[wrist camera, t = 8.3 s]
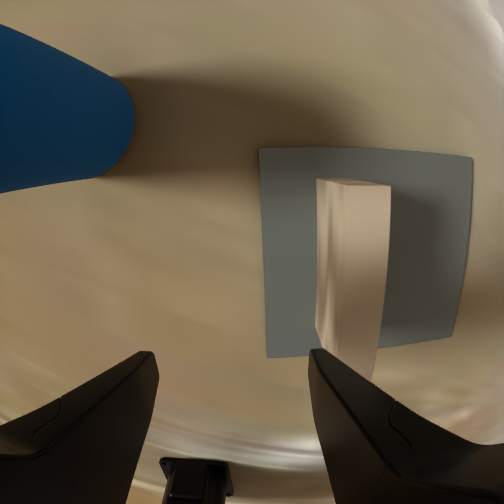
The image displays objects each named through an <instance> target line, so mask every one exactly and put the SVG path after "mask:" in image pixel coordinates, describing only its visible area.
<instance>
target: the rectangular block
mask: <svg viewBox="0 0 504 504" xmlns="http://www.w3.org/2000/svg"><path fill="white" fill-rule="evenodd" d="M316 187H317V287H316V318H315V327H316V330H317V333H318V336H319V339H320V342H321V345H322V348H324V349H326V350H327V351H328V352H330V353H331V354H332V355H334V356H335V357H337V358H338V359H339V360H341V361H342V362H343V363H345V364H346V365H348V366H349V367H350V368H352V369H353V370H354V371H356V372H357V373H359V374H360V375H361V376H363V377H364V378H366V379H367V380H368V381H370V382H371V380H372V374H373V369H374V364H375V358H376V353H377V347H378V341H379V334H380V327H381V320H382V313H383V305H384V296H385V287H386V277H387V265H388V252H389V235H390V209H391V186H388V185H383V184H377V183H372V182H366V181H361V180H355V179H349V178H316Z"/></svg>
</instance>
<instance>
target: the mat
mask: <svg viewBox="0 0 504 504" xmlns="http://www.w3.org/2000/svg"><path fill="white" fill-rule="evenodd" d="M259 168H260V189H261V212H262V236H263V260H264V287H265V314H266V344H267V358H282V357H298V356H309V351H310V350H311V349H316V348H322V345H321V342H320V339H319V336H318V333H317V330H316V327H315V318H316V287H317V187H316V178H349V179H355V180H361V181H366V182H372V183H377V184H383V185H388V186H391V209H390V235H389V252H388V265H387V277H386V287H385V296H384V305H383V313H382V320H381V327H380V334H379V341H378V347H377V349H378V348H386V347H393V346H399V345H406V344H412V343H418V342H424V341H429V340H435V339H440V338H445V337H450V336H451V334H452V330H453V326H454V322H455V317H456V313H457V308H458V303H459V298H460V293H461V288H462V282H463V276H464V269H465V262H466V255H467V247H468V238H469V227H470V214H471V194H472V157H464V156H457V155H448V154H439V153H429V152H419V151H406V150H392V149H375V148H349V147H278V148H259Z"/></svg>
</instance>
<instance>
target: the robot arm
mask: <svg viewBox="0 0 504 504" xmlns="http://www.w3.org/2000/svg"><path fill="white" fill-rule="evenodd" d="M308 379H309V386H310V394H311V402H312V410H313V417H314V422H315V426H316V430H317V434H318V437H319V441H320V445H321V449H322V452H323V456H324V460H325V464H326V467H327V471H328V475H329V479H330V483H331V487H332V490H333V494H334V498H335V502H336V504H504V443H501V444H494V445H481V444H476V443H473V442H470V441H468V440H465V439H463V438H461V437H459V436H457V435H455V434H453V433H451V432H449V431H447V430H445V429H444V428H442V427H440V426H438V425H436V424H434V423H432V422H430V421H428V420H427V419H425V418H423V417H421V416H420V415H418V414H416V413H415V412H413V411H412V410H410V409H409V408H407V407H405V406H404V405H403V404H401V403H400V402H398V401H395V399H394V398H392V397H391V396H390V395H388V394H387V393H385V392H384V391H382V390H381V389H380V388H378V387H377V386H375V385H374V384H373V383H371V382H370V381H368V380H367V379H366V378H364V377H363V376H361V375H360V374H359V373H357V372H356V371H354V370H353V369H352V368H350V367H349V366H348V365H346V364H345V363H343V362H342V361H341V360H339V359H338V358H337V357H335V356H334V355H332V354H331V353H330V352H328V351H327V350H326V349H324V348H316V349H311V350H310V351H309V366H308ZM158 383H159V371H158V367H157V363H156V359H155V355H154V353H153V352H151V351H139V352H137V353H136V354H134V355H132V356H131V357H129V358H127V359H126V360H124V361H122V362H120V363H119V364H117V365H115V366H114V367H112V368H110V369H108V370H107V371H105V372H103V373H101V374H100V375H98V376H96V377H94V378H93V379H91V380H89V381H87V382H86V383H84V384H82V385H80V386H79V387H77V388H75V389H73V390H72V391H70V392H68V393H66V394H65V395H63V396H61V399H60V398H57V399H55V400H54V401H52V402H50V403H48V404H46V405H44V406H43V407H41V408H39V409H37V410H34V411H32V412H30V413H28V414H26V415H24V416H21V417H19V418H17V419H14V420H12V421H10V422H7V423H5V424H3V425H0V504H126V500H127V497H128V493H129V490H130V487H131V483H132V480H133V476H134V473H135V470H136V467H137V463H138V460H139V457H140V454H141V450H142V447H143V444H144V441H145V438H146V434H147V431H148V428H149V425H150V422H151V418H152V413H153V408H154V403H155V398H156V393H157V387H158ZM159 464H160V466H161V468H162V470H163V472H164V474H165V477H166V479H167V484H166V488H165V492H164V496H163V500H162V504H225V500H226V496H228V497H229V496H233V493H234V491H233V486H232V481H231V476H230V471H229V466H228V464H227V463H225V462H209V461H192V460H180V459H170V458H161V459H160V461H159Z"/></svg>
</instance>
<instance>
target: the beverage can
mask: <svg viewBox="0 0 504 504" xmlns="http://www.w3.org/2000/svg"><path fill="white" fill-rule="evenodd" d="M134 123H135V111H134V105H133V102H132V99H131V96H130V94H129V92H128V91H127V89H126V88H125V87H124V86H123V85H122V84H121V83H120V82H119V81H118V80H116V79H114V78H112V77H110V76H108V75H107V74H105V73H103V72H101V71H99V70H97V69H95V68H93V67H92V66H90V65H88V64H86V63H84V62H82V61H80V60H78V59H76V58H74V57H72V56H70V55H68V54H66V53H64V52H62V51H60V50H58V49H56V48H54V47H51V46H49V45H47V44H45V43H43V42H41V41H39V40H36V39H34V38H32V37H30V36H28V35H25V34H23V33H21V32H18V31H16V30H14V29H11V28H9V27H7V26H4V25H2V24H0V193H5V192H10V191H15V190H20V189H26V188H31V187H37V186H43V185H49V184H55V183H61V182H68V181H75V180H82V179H89V178H94V177H97V176H99V175H101V174H103V173H105V172H106V171H108V170H109V169H111V168H112V167H113V166H114V165H115V164H116V163H117V162H118V161H119V160H120V158H121V157H122V156H123V154H124V153H125V151H126V149H127V147H128V145H129V143H130V141H131V138H132V134H133V130H134Z"/></svg>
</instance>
